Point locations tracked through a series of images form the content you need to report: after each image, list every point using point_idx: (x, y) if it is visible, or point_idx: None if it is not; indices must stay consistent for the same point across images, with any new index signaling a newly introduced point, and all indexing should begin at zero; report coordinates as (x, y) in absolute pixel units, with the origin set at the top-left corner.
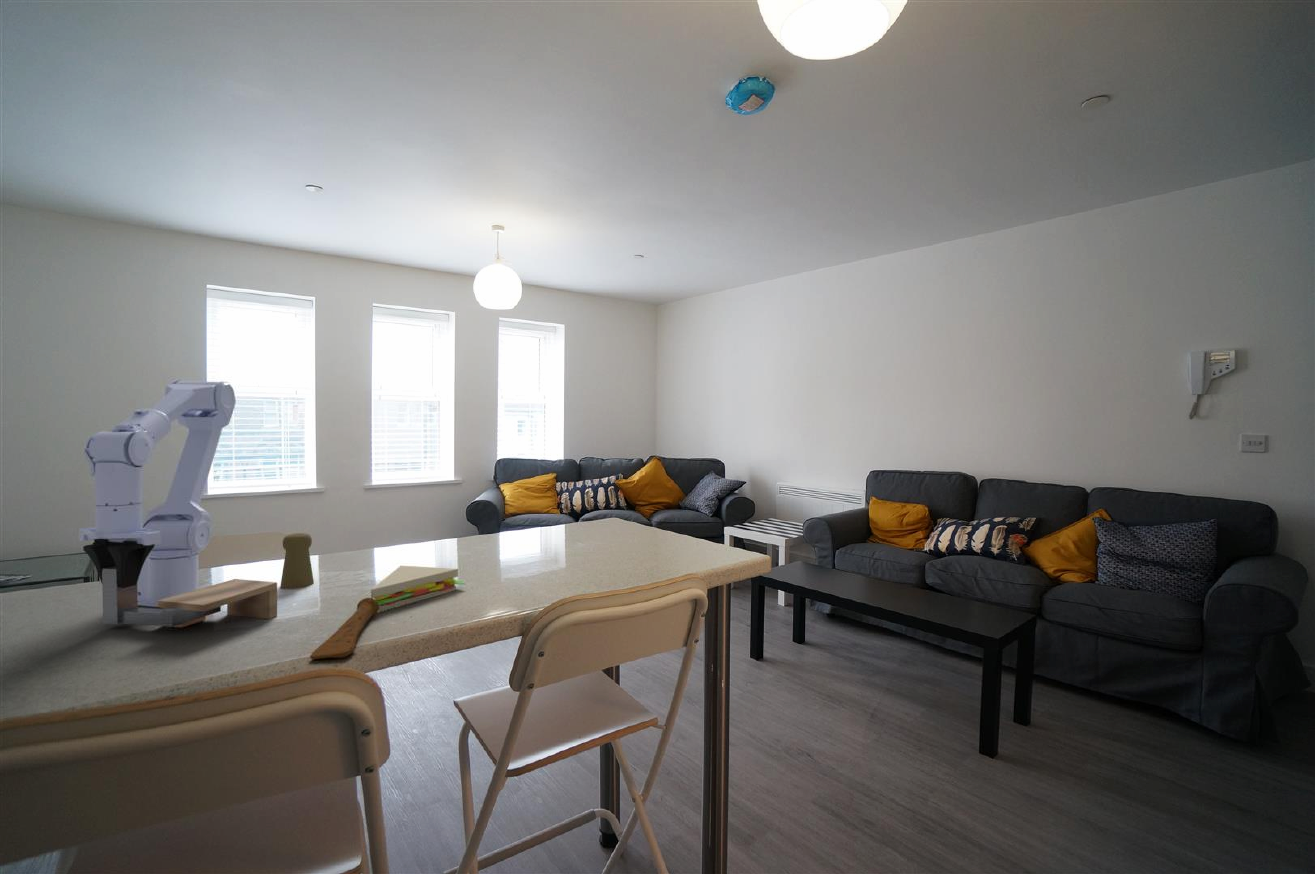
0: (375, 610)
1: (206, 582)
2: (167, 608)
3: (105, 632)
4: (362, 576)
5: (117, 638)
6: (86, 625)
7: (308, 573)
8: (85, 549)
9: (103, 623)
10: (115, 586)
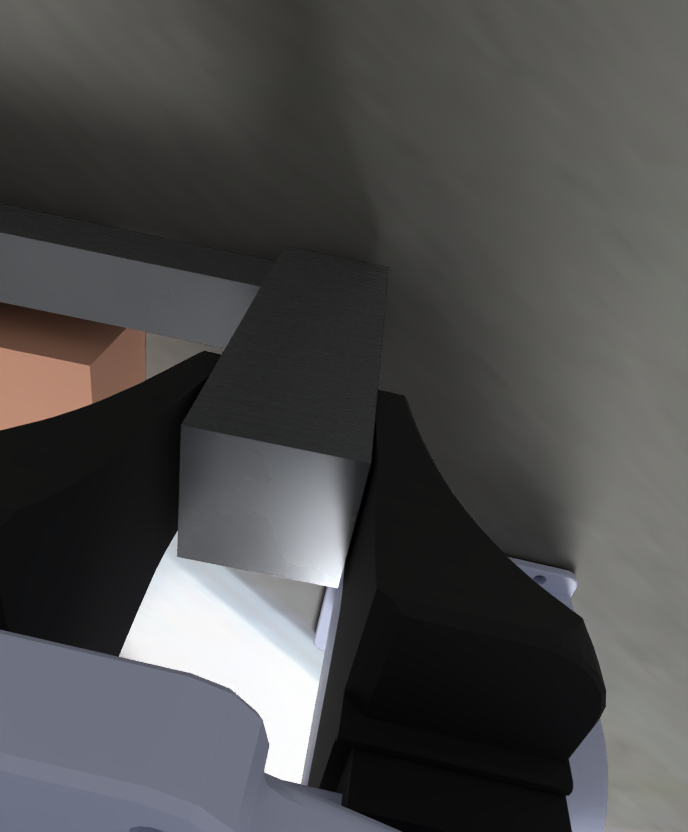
0: None
1: None
2: (66, 341)
3: (337, 214)
4: None
5: (181, 123)
6: (538, 315)
7: None
8: (532, 612)
9: (387, 268)
10: (239, 345)
